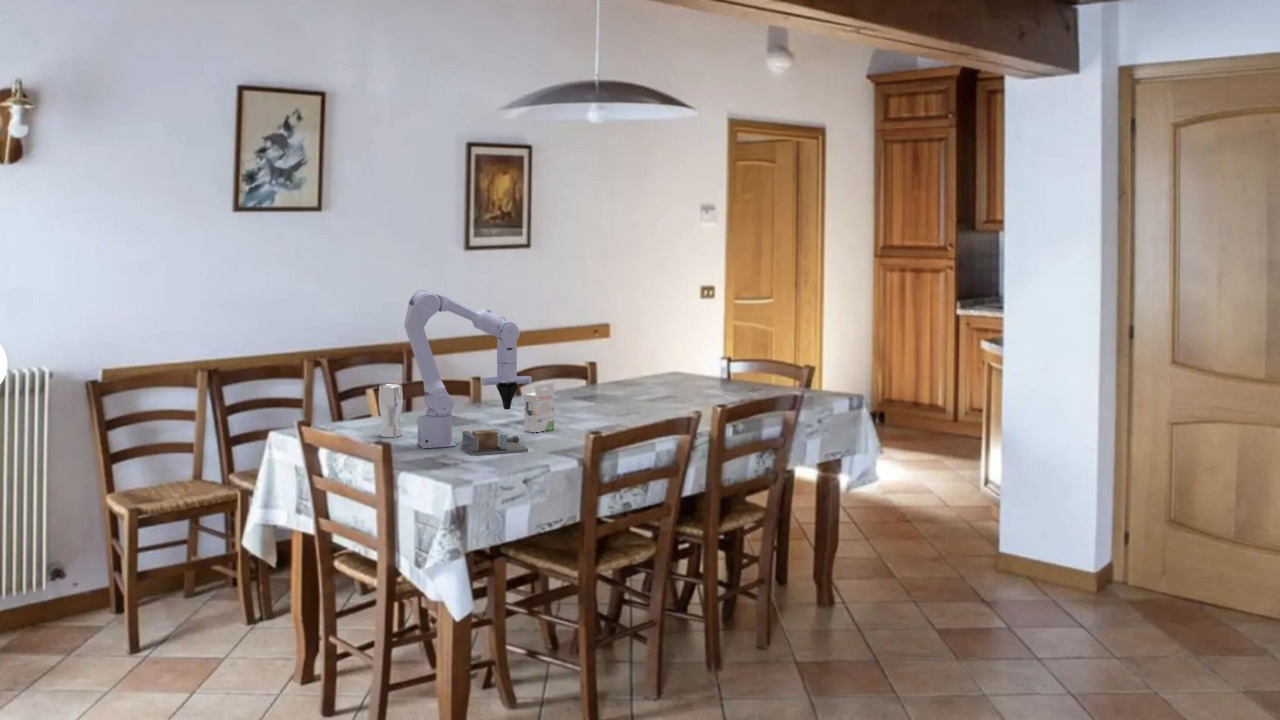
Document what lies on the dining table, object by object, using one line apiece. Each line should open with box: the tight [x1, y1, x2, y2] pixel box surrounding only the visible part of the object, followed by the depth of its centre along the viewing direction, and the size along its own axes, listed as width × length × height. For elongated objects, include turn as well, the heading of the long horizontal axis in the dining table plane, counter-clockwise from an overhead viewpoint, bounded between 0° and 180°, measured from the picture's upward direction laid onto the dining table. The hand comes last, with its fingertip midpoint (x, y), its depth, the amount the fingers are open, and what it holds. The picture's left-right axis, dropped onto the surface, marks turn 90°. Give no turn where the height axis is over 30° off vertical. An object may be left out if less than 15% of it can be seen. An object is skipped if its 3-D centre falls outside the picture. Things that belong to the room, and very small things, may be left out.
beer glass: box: [378, 383, 404, 438], centre depth 336 cm, size 7×7×15 cm
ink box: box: [523, 382, 555, 434], centre depth 348 cm, size 9×5×15 cm, turn 141°
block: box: [471, 429, 497, 449], centre depth 318 cm, size 6×4×4 cm, turn 114°
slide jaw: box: [490, 427, 520, 449], centre depth 321 cm, size 6×10×4 cm, turn 24°
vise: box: [460, 430, 529, 456], centre depth 319 cm, size 16×12×5 cm
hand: (506, 408), depth 331 cm, fingers closed
